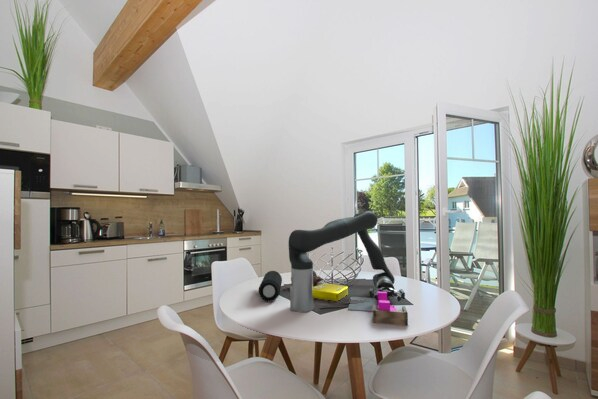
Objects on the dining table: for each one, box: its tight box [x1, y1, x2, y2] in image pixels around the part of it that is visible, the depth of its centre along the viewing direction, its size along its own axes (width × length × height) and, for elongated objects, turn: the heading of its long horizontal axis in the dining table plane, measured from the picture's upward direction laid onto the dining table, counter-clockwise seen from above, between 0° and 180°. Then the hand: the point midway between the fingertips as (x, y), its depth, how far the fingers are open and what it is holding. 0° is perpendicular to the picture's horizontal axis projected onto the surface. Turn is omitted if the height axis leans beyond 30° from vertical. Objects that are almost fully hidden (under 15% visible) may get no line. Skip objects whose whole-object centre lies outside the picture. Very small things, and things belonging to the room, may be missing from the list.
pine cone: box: [313, 270, 324, 287], centre depth 158 cm, size 18×10×10 cm, turn 83°
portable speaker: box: [258, 270, 283, 302], centre depth 145 cm, size 26×10×10 cm, turn 1°
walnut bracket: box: [372, 304, 409, 326], centre depth 110 cm, size 12×8×4 cm, turn 77°
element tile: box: [313, 282, 349, 302], centre depth 142 cm, size 15×15×5 cm
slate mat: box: [347, 296, 378, 313], centre depth 129 cm, size 12×18×1 cm, turn 167°
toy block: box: [377, 291, 398, 311], centre depth 115 cm, size 15×6×8 cm, turn 168°
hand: (387, 298), depth 117 cm, fingers open, 8 cm apart
